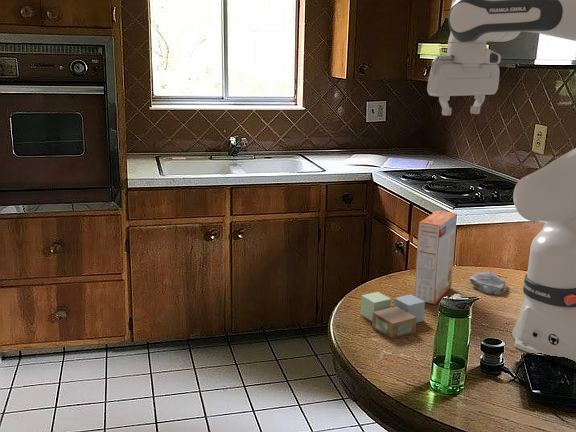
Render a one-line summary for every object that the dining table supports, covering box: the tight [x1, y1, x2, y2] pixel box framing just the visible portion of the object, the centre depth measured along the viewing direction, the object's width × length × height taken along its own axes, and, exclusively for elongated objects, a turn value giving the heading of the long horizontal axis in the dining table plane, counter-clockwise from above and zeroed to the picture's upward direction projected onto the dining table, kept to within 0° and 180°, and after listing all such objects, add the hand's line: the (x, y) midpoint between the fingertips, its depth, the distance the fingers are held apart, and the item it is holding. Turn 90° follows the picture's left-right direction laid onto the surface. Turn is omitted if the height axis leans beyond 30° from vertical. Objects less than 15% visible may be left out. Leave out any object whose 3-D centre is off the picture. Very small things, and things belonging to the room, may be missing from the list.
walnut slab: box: [371, 306, 417, 340], centre depth 148 cm, size 7×7×4 cm
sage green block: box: [359, 291, 392, 322], centre depth 155 cm, size 5×5×5 cm
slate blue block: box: [393, 294, 426, 324], centre depth 154 cm, size 5×5×5 cm
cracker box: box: [413, 210, 458, 305], centre depth 167 cm, size 14×6×21 cm, turn 149°
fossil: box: [468, 271, 508, 295], centre depth 175 cm, size 11×4×10 cm
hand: (460, 114), depth 158 cm, fingers open, 8 cm apart
